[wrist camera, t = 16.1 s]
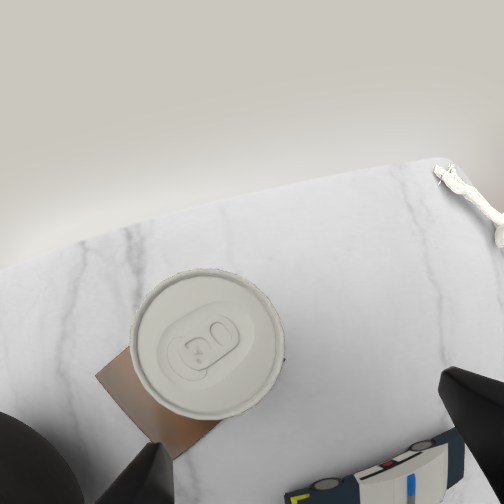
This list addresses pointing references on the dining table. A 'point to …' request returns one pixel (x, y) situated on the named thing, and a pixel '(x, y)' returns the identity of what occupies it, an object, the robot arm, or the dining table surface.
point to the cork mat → (150, 408)
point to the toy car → (396, 477)
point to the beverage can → (207, 344)
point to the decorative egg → (33, 468)
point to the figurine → (472, 199)
